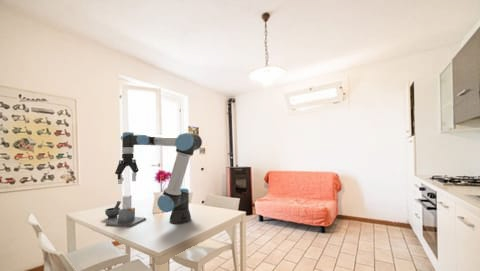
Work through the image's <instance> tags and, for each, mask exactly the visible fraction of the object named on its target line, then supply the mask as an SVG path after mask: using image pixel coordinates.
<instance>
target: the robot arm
mask: <svg viewBox="0 0 480 271" xmlns="http://www.w3.org/2000/svg"><path fill="white" fill-rule="evenodd" d="M121 139H122V141H121V143H122V145H121V146H122V149H121V150H122V151H121V153H122V154H121V160H120V159H119V160H118V164H117V168H116V169H115V172H114V174H115V175H117V184H118V185H122V184H123V172H124V170H126V168H127V167H129V168H130V169H131V171H132V173H131V181H132V182H136V181H137V173H138V172H139V167H138V164H137V160H136V159H134V153H135V148H134V147H135V146H158V147H159V146H162V147H163V146H164V147H175V148H176V149H175V152H176V157H175V159H174V160H175V161H174V163H173V167H172V171H171V174H170V177H169V181H168V184H167V187H165V188H164V190H163V192H162V194H161V195H160V196H159V197H158V198H157V203H156V204H157V207H158V209H159V210H160V211H161V212H162V213H170V212H171V213H170V216H169V222H170V223H171V224H176V223H178V224H184V222H185V223H188V222H190V221H191V220H192V215H191V212H190V208H189V206H190V204H189V202H190V200H189V198H190V196H189V195H190V193H189V192H190V191H189V189H188V188H185V187H182V184H183V181H184V178H185V175H186V171H187V168H188V164H189V160H190V158H191V157H192V156H194V152H195V151H197V150H199V149H200V148H201V147H202V144H203V140H202V138H201V136H200V135H198V134H196V133H195V134H194V133H189V132H183V133H180V134H178V135H177V136H173V135H172V136H168V135H150V134H149V135H148V134H146V133H145V134H144V133H141V134H135V133H134V132H132V131H125V132H123V133H122V137H121Z"/></svg>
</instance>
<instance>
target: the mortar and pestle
mask: <svg viewBox="0 0 480 271" xmlns="http://www.w3.org/2000/svg"><path fill="white" fill-rule="evenodd" d="M121 203H122V202H121V201H120V200H118V201H116V204H115V205H114V207H109V208H107V209H105V210H104V212H105V215H106V216H107V220H110V221H112V220H115V219H118V212H119V210H120V209H121V208H120V205H121Z"/></svg>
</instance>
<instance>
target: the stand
mask: <svg viewBox="0 0 480 271" xmlns="http://www.w3.org/2000/svg"><path fill="white" fill-rule="evenodd" d="M135 215H136V208H135V207H131V209H129V210H122V208H120V210H119V212H118V215H117V218H116V219H111V220H110V221H108V222H107V221H106V222H105V226H106V227H107V226H111V227H121V228H132V227H134V226H136V225H138V224H140V223H142V222H145V221H146V220H147V217H141V216H135Z"/></svg>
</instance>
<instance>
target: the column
mask: <svg viewBox="0 0 480 271" xmlns="http://www.w3.org/2000/svg"><path fill="white" fill-rule="evenodd" d="M131 208H132V195H130V194H128V195H123V196H122V207H121V209H122V210H129V209H131Z"/></svg>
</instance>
